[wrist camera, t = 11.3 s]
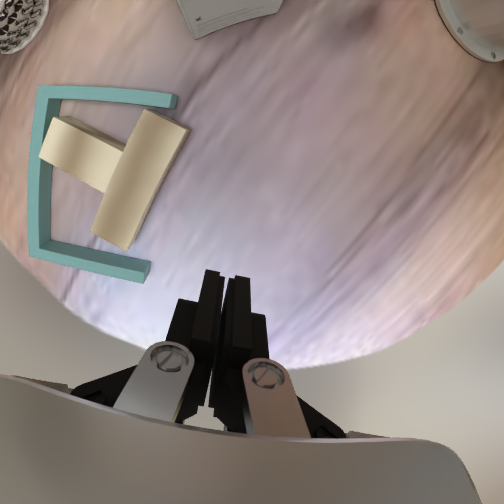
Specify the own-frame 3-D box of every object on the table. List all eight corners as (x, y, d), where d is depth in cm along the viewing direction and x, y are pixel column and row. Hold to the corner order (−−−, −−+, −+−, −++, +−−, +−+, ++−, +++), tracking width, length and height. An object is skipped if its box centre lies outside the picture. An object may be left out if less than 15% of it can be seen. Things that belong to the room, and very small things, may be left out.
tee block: (191, 129, 26) (186, 130, 23) (135, 239, 30) (126, 251, 27) (86, 78, 23) (71, 75, 21) (42, 187, 27) (27, 194, 24)
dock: (177, 96, 25) (172, 94, 23) (149, 272, 31) (143, 283, 29) (52, 87, 23) (38, 85, 21) (40, 247, 30) (29, 256, 27)
